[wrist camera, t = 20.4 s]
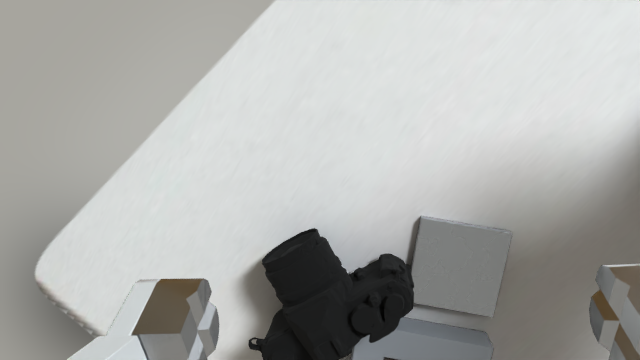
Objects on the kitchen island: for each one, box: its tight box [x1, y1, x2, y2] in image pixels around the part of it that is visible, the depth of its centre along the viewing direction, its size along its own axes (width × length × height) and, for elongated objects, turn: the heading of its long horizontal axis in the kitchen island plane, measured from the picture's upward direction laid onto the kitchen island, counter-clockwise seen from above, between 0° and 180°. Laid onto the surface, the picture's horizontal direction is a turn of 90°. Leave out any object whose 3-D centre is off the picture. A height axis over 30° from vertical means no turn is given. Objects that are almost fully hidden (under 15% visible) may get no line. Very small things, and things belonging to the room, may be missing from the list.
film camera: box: [249, 228, 414, 360], centre depth 44 cm, size 15×10×9 cm, turn 119°
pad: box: [410, 216, 512, 317], centre depth 46 cm, size 8×8×1 cm
